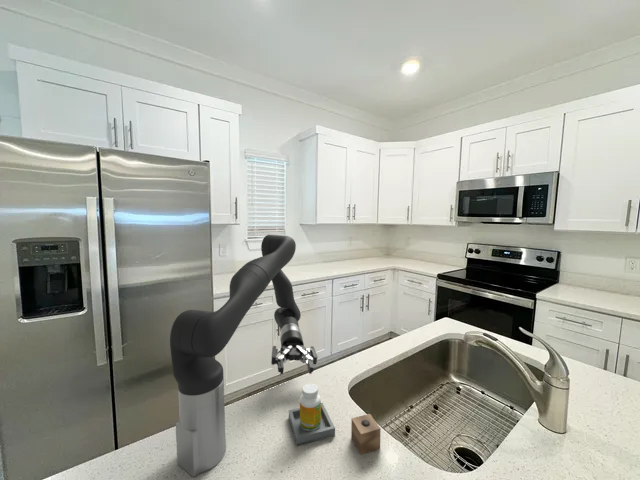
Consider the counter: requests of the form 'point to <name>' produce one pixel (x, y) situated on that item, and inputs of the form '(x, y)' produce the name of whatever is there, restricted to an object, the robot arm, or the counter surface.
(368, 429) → the wooden block with knob
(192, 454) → the robot arm
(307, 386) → the supplement bottle
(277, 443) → the counter surface
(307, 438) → the tray
